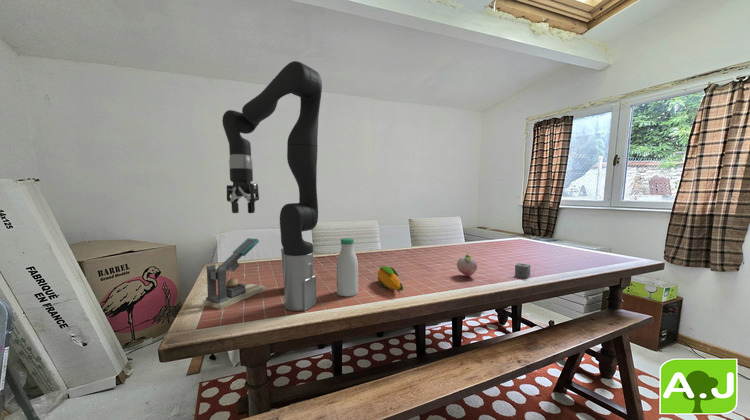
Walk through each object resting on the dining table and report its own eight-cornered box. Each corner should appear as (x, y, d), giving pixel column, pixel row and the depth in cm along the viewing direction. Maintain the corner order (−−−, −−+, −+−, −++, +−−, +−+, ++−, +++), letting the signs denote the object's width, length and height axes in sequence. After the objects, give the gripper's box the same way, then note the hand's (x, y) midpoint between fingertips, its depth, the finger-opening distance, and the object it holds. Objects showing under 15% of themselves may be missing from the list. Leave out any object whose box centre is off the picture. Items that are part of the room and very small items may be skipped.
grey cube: (530, 275, 125) (530, 264, 124) (527, 278, 121) (527, 267, 121) (517, 273, 128) (518, 263, 128) (514, 276, 124) (515, 265, 124)
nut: (241, 287, 98) (240, 277, 98) (232, 290, 95) (231, 280, 95) (233, 286, 100) (233, 276, 99) (224, 289, 96) (224, 279, 96)
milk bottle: (362, 293, 103) (362, 238, 102) (346, 298, 97) (346, 241, 96) (348, 288, 108) (348, 236, 107) (332, 293, 102) (332, 238, 101)
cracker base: (265, 290, 106) (265, 256, 105) (220, 309, 89) (219, 269, 88) (249, 287, 109) (249, 254, 108) (203, 305, 92) (201, 266, 91)
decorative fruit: (455, 273, 129) (455, 251, 128) (473, 273, 127) (474, 252, 127) (458, 279, 119) (458, 256, 119) (478, 280, 118) (479, 256, 118)
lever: (259, 267, 105) (259, 238, 104) (218, 280, 89) (217, 246, 89) (249, 266, 107) (249, 238, 106) (207, 278, 91) (206, 245, 91)
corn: (390, 261, 119) (408, 274, 100) (391, 279, 120) (409, 295, 100) (373, 263, 117) (388, 277, 98) (375, 281, 118) (390, 298, 98)
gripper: (263, 167, 102) (265, 212, 103) (237, 170, 108) (239, 212, 109) (245, 165, 95) (247, 213, 96) (218, 168, 102) (220, 213, 102)
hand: (243, 213), depth 102 cm, fingers open, 8 cm apart
